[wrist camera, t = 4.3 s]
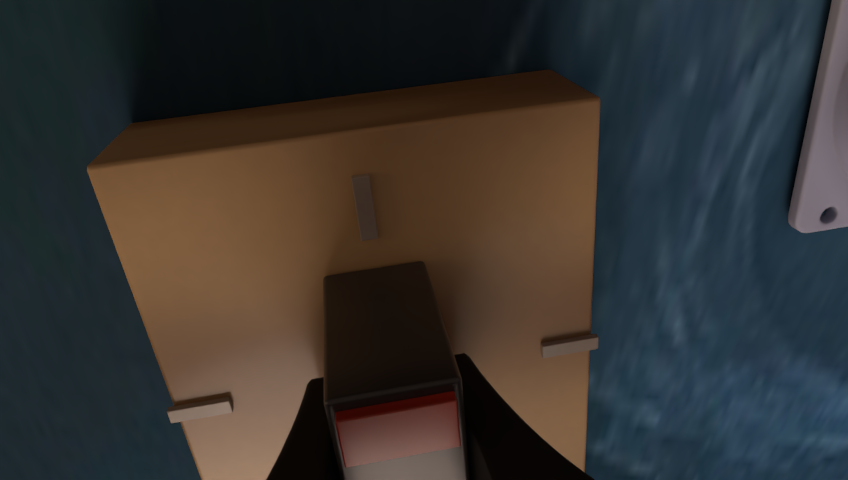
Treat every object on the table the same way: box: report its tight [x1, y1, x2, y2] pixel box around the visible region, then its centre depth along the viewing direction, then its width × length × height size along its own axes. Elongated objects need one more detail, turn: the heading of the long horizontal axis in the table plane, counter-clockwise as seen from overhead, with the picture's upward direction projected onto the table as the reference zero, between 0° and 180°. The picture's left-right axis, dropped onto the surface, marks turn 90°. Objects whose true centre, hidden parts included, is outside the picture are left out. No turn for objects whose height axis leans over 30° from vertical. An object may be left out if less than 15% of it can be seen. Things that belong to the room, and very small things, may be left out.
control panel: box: [87, 69, 600, 480], centre depth 16 cm, size 12×10×3 cm
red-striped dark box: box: [323, 261, 470, 480], centre depth 12 cm, size 6×2×4 cm, turn 5°
